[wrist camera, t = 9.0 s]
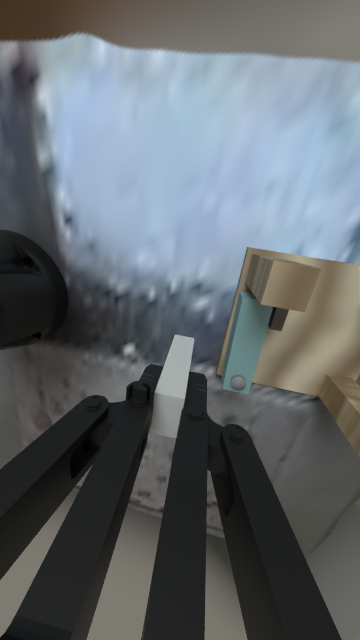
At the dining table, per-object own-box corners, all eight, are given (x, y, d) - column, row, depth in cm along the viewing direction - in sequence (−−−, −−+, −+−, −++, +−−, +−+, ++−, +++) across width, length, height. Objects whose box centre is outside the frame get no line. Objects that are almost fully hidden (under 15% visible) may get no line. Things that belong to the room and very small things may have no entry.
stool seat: (216, 370, 29) (216, 431, 20) (247, 247, 23) (268, 251, 14) (339, 396, 27) (403, 476, 18) (406, 272, 22) (550, 296, 12)
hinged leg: (245, 378, 27) (249, 397, 24) (221, 374, 27) (222, 392, 24) (267, 295, 23) (276, 304, 20) (239, 291, 23) (243, 299, 20)
